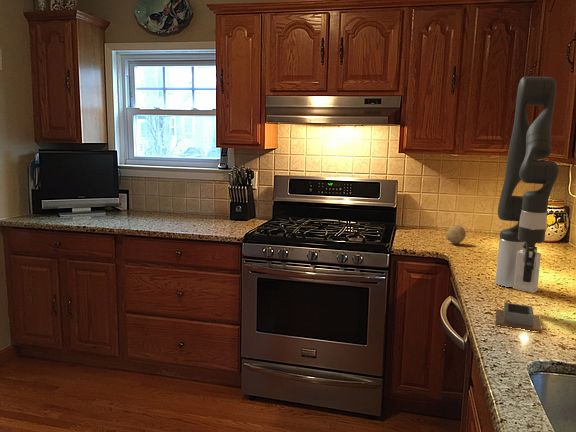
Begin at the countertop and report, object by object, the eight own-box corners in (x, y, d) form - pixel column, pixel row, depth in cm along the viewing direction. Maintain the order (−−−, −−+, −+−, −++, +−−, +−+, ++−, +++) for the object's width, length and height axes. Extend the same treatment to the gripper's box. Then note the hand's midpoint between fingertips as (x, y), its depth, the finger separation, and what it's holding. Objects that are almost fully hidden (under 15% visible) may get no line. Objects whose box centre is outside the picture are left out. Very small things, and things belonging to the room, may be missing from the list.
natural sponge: (466, 247, 256) (468, 227, 254) (447, 245, 257) (449, 226, 256) (463, 243, 265) (464, 224, 263) (445, 242, 266) (446, 223, 265)
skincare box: (537, 290, 161) (542, 252, 159) (533, 293, 158) (537, 255, 155) (517, 286, 165) (521, 249, 163) (512, 288, 162) (516, 251, 160)
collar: (495, 312, 160) (496, 299, 160) (538, 318, 156) (539, 305, 155) (495, 325, 148) (496, 312, 148) (541, 333, 144) (542, 319, 143)
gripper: (518, 220, 166) (512, 271, 169) (519, 228, 152) (513, 283, 155) (544, 223, 163) (538, 274, 166) (547, 231, 150) (541, 287, 153)
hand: (526, 278), depth 161 cm, fingers closed on skincare box, 5 cm apart
